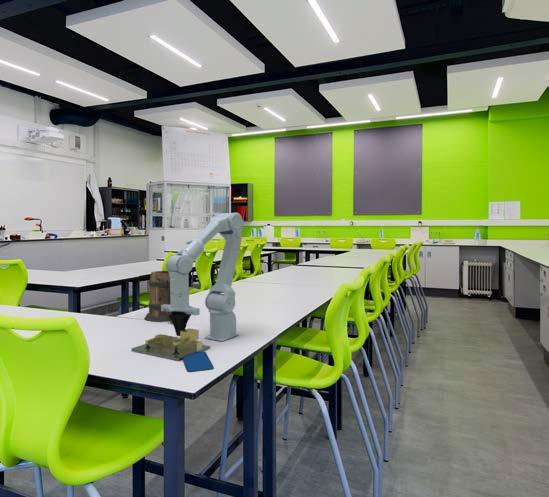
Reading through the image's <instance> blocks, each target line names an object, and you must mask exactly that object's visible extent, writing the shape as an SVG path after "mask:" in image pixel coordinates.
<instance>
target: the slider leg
mask: <svg viewBox="0 0 549 497" xmlns="http://www.w3.org/2000/svg"><path fill="white" fill-rule="evenodd" d="M199 336H200V332H199V329H195V328H185V330H182V331H180V336H179V338H180V340H177V341H174V342H173V345H175V353H178V352H177V345H179V344H182V343H185V342H193V341H199V339H200V337H199Z"/></svg>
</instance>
